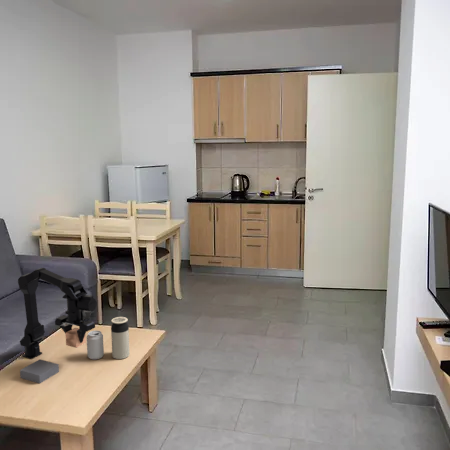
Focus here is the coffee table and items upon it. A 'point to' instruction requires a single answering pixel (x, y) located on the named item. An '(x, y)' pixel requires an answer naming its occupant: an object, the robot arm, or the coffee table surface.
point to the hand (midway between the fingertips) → (75, 341)
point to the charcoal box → (39, 371)
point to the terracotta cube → (74, 338)
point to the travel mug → (120, 338)
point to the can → (95, 345)
